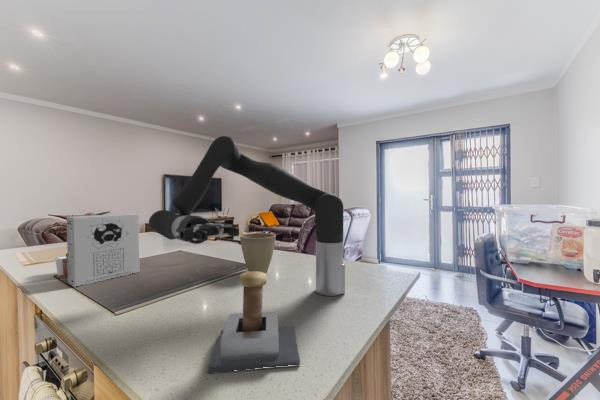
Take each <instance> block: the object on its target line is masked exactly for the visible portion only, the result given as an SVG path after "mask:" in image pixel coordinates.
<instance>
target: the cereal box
mask: <svg viewBox="0 0 600 400" xmlns="http://www.w3.org/2000/svg"><path fill="white" fill-rule="evenodd" d="M139 217H140V216H139V214H138V213H133V212H132V213H131V212H130V213H114V214H113V213H111V214H96V215H94V214H91V215H75V216H67V217H66V243H67V244H66V247H67V248H66V249H67V252H66V253H67V257H68V278H67V283H69V285H71V286H72V287H73V288H77V287H76V286H79V287H81V286H80V285H83V286H86V285H85V284H87V285H91V284H90V283H92V284H95V283H94V282H96V283H99V282H98V281H101V282H104V281H103V280H105V281H108V280H107V279H109V280H112V279H111V278H114V279H117V278H116V277H118V278H121V277H120V276H123V277H125V276H124V275H127V276H130V275H129V274H131V275H133V274H132V273H136V274H138V273H137V272H139V273H140V272H141V271H140V230H139V229H140V219H139Z"/></svg>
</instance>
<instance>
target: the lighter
mask: <svg viewBox="0 0 600 400" xmlns="http://www.w3.org/2000/svg"><path fill="white" fill-rule="evenodd" d="M65 256H66V257H67V252H66V253H65ZM62 261H63V276H62V279H64V278H65V279H68V257H67V258H65V259H62Z"/></svg>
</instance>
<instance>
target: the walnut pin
mask: <svg viewBox="0 0 600 400" xmlns="http://www.w3.org/2000/svg"><path fill="white" fill-rule="evenodd" d="M267 278H268V276H267V273H266V274H265V273H263V272H258V271H251V272H248V271H245V272H242V273H240V275H239V284H240V286H242V287H243V295H242V301H243V302H242V313H243V329H242V332H252V331H261V327H262V312H263V291H264V290H263V289H264V288H263V286H264V285H266V284H267V283H268V282H267V280H268V279H267Z"/></svg>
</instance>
